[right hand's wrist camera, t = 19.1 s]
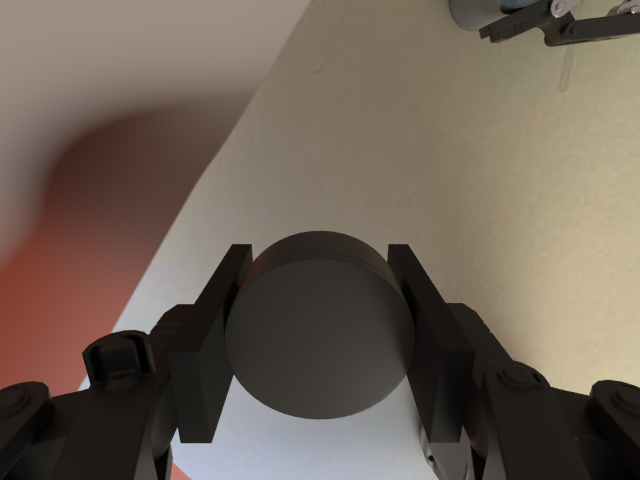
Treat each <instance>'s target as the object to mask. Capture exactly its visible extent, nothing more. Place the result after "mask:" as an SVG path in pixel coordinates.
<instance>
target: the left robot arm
mask: <svg viewBox="0 0 640 480" xmlns="http://www.w3.org/2000/svg"><path fill="white" fill-rule="evenodd" d="M581 1H582V0H541V1H539V2H536V3H534V4H532V5H530V6H528V7H525V8H523V9H521V10H519V11H517V12H514V13H512V14H510V15H508V16H506V17H503V18H501V19H499V20H497V21H495V22H493V23H490V24H488V25H486V26H484V27H482V28H480V29H479V33H480V37H481V39H483V38H485V37H487V36H490V41H491V43H499V42H502V41H504V40H507V39H509V38H512V37H514V36H516V35H518V34H521V33H523V32H525V31H527V30H530V29H532V28H534V27H538V28H540V29H541V30H542V31H543V32H544V34H545V38H544V41H545V44H546V45H547V46H549V47H554V46H562V45H570V44H578V43H586V42H594V41H601V40H609V39H617V38H622V37H626V36H631V35H635V34H639V33H640V0H624V1H623V2H622V3H621V4H620V5H617V6H614V7H613V8H612V9H611V10H610V11H609V12H608V14H607V15H606V16H605V17H599V18H592V19H584V20H576V21H575V19H574V17H573V16H572V14H571V12H570V10H571V9H572V8H573V7H575V6H576V5H577V4H578V3H579V2H581Z"/></svg>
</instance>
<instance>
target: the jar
mask: <svg viewBox="0 0 640 480" xmlns="http://www.w3.org/2000/svg"><path fill="white" fill-rule="evenodd" d="M538 1H540V0H451V1H450V9H451V14H452V16H453V19H454V20H455V22H456V23H457V24H458V25H459V26H460V27H461V28H463V29H465V30H468V31H478V30H479V29H480V28H482V27H484V26H486V25H488V24H490V23H493V22H495V21H497V20H499V19H501V18H503V17H506V16H508V15H510V14H512V13H514V12H517V11H519V10H521V9H523V8H525V7H528V6H530V5H532V4H534V3H536V2H538Z"/></svg>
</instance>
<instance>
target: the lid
mask: <svg viewBox="0 0 640 480" xmlns="http://www.w3.org/2000/svg"><path fill="white" fill-rule="evenodd" d="M224 337H225V347H226V355H227V360H228V363H229V365H230V367H231V370H232V372H233V374H234V375H235V377H236V378H237V380H238V381H239V383H240V384H241V385H242V386H243V387H244V388H245V390H246V391H247V392H249V393H250V394H251V395H252V396H253V397H254V398H256V399H257V400H259V401H260V402H261V403H263V404H264V405H266V406H268V407H270V408H272V409H274V410H276V411H279V412H281V413H284V414H287V415H291V416H295V417H300V418H306V419H333V418H341V417H345V416H349V415H353V414H356V413H359V412H361V411H364V410H366V409H368V408H370V407H372V406H374V405H375V404H377V403H379V402H380V401H382V400H383V399H384V398H386V397H387V396H388V395H389V394H391V393H392V392H393V391H394V390H395V389H396V388H397V387H398V385H399V384H400V383H401V381H402V380H403V379H404V377H405V375H406V374H407V372H408V370H409V368H410V366H411V363H412V360H413V356H414V348H415V339H416V328H415V323H414V319H413V316H412V313H411V311H410V309H409V306H408V304H407V302H406V300H405V297H404V295H403V293H402V291H401V288H400V286H399V284H398V282H397V279H396V277H395V275H394V273H393V271H392V269H391V268H390V266H389V264H388V263H387V262H386V261H385V259H384V258H383V257H382V256H381V255H380V254H379V253H378V252H377V251H376V250H375V249H373V248H372V247H370V246H369V245H368V244H366V243H364V242H362V241H360V240H358V239H357V238H354V237H351V236H349V235H346V234H342V233H337V232H330V231H309V232H303V233H298V234H295V235H291V236H288V237H286V238H284V239H282V240H279V241H278V242H276V243H274V244H273V245H271V246H270V247H268V248H267V249H266V250H265V251H263V252H262V253H261V254H260V255H259V256H258V257H257V258H256V259H255V260H254V262H253V263H252V265H251V266H250V268H249V269H248V271H247V273H246V275H245V277H244V279H243V282H242V284H241V286H240V288H239V291H238V293H237V295H236V297H235V300H234V302H233V304H232V307H231V309H230V311H229V314H228V317H227V320H226V324H225V330H224Z"/></svg>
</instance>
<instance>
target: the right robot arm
mask: <svg viewBox="0 0 640 480" xmlns="http://www.w3.org/2000/svg"><path fill="white" fill-rule="evenodd" d="M252 263H253V257H252V244H232V246H231V247H230V249H229V250H228V252H227V253H226V255H225V256H224V258H223V260H222V261H221V263H220V264H219V266H218V267H217V269H216V271H215V272H214V274H213V275H212V277H211V278H210V280H209V282H208V283H207V285H206V286H205V288H204V289H203V291H202V293H201V294H200V296H199V297H198V299H197V300H196V302H195V304H177V305H176V306H174V307H173V308H171V309H170V310H168V311H167V312H165V313H164V314H163V316H162V317H161V318H160V320H159V321H158V322H157V325H155V326H154V328H153V329H152V330H151V332H150V334H148V335H147V334H146V333H145V332H142V331H137V330H124V331H120V332H115V333H111V334H109V335H106V336H104V337H101V338H99V339H97V340H96V341H95V342H93V343H91V344H90V345H89V346H88V347H87V348H86V349H85V350H84V351H83V353H82V355H83V359H84V363H85V366H86V370H87V373H88V377H89V381H90V384H91V385H90V387H89V389H85V390H82V391H78V392H73V393H68V394H64V395H59V396H55V397H51V394H50V391H49V388H48V387H47V386H46V385H45V384H44V383H42V382H34V381H31V382H24V383H18V384H15V385H12V386H8V387H6V388H3V389H1V390H0V480H170V477H171V468H172V460H173V457H172V449H171V444H170V443H171V440H172V438H173V436H174V434H175V431H176V429H177V427H178V431H179V436H180V442H181V443H212V440H213V437H214V434H215V431H216V428H217V425H218V421H219V418H220V415H221V412H222V409H223V406H224V403H225V400H226V397H227V394H228V390H229V387H230V384H231V381H232V378H233V375H234V374H233V372H232V370H231V367H230V365H229V363H228V360H227V355H226V347H225V337H224V330H225V324H226V320H227V317H228V314H229V311H230V309H231V307H232V304H233V302H234V300H235V297H236V295H237V293H238V291H239V288H240V286H241V284H242V282H243V279H244V277H245V275H246V273H247V271H248V269H249V268H250V266H251V265H252ZM387 263H388V264H389V266H390V268H391V269H392V271H393V273H394V275H395V277H396V279H397V282H398V284H399V286H400V288H401V291H402V293H403V295H404V297H405V300H406V302H407V304H408V306H409V309H410V311H411V313H412V316H413V319H414V323H415V328H416V339H415V348H414V356H413V360H412V363H411V366H410V368H409V370H408V372H407V377H408V380H409V384H410V387H411V390H412V393H413V396H414V399H415V402H416V405H417V408H418V411H419V415H420V418H421V421H422V424H421V428H420V441H421V445H422V448H423V452H424V455H425V458H426V460H427V462H428V464H429V466H430V467H431V469H432V470H433V472H434V473H435V474H436V476H437V477H438V479H439V480H640V388H639V387H637V386H634V385H631V384H628V383H624V382H621V381H614V380H602V381H598V382H596V383H595V384H594V385H593V386H592V389H591V392H590V395H589V396H588V395H584V394H579V393H574V392H570V391H565V390H561V389H557V388H553V387H550V384H549V383H548V381H547V380H546V379H545V377H544V376H543V375H542V374H540V373H539V372H538V371H536V370H535V369H534V368H532V367H530V366H528V365H526V364H523V363H521V362H517V361H513V360H512V359H511V357H510V356H509V355H508V353H507V352H506V351H505V349H504V348H503V347H502V345H501V344H500V343H499V342H498V340H497V339H496V338H495V336H494V335H493V334H492V333H490V330H489V328H488V327H487V326H486V324H484V322H483V320H482V319H481V318H480V317H479V315H478V314H477V313H476V312H475V311H474V310H472V309H471V308H469V307H468V306H466V305H465V304H463V303H445V302H444V300H443V298H442V297H441V295H440V294H439V292H438V291H437V289H436V287H435V286H434V284H433V283H432V281H431V280H430V278H429V277H428V275H427V273H426V272H425V270H424V269H423V267H422V266H421V264H420V262H419V261H418V259H417V258H416V256H415V255H414V253H413V251H412V250H411V248H410V247H409V245H408V244H389V245H388V260H387Z"/></svg>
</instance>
